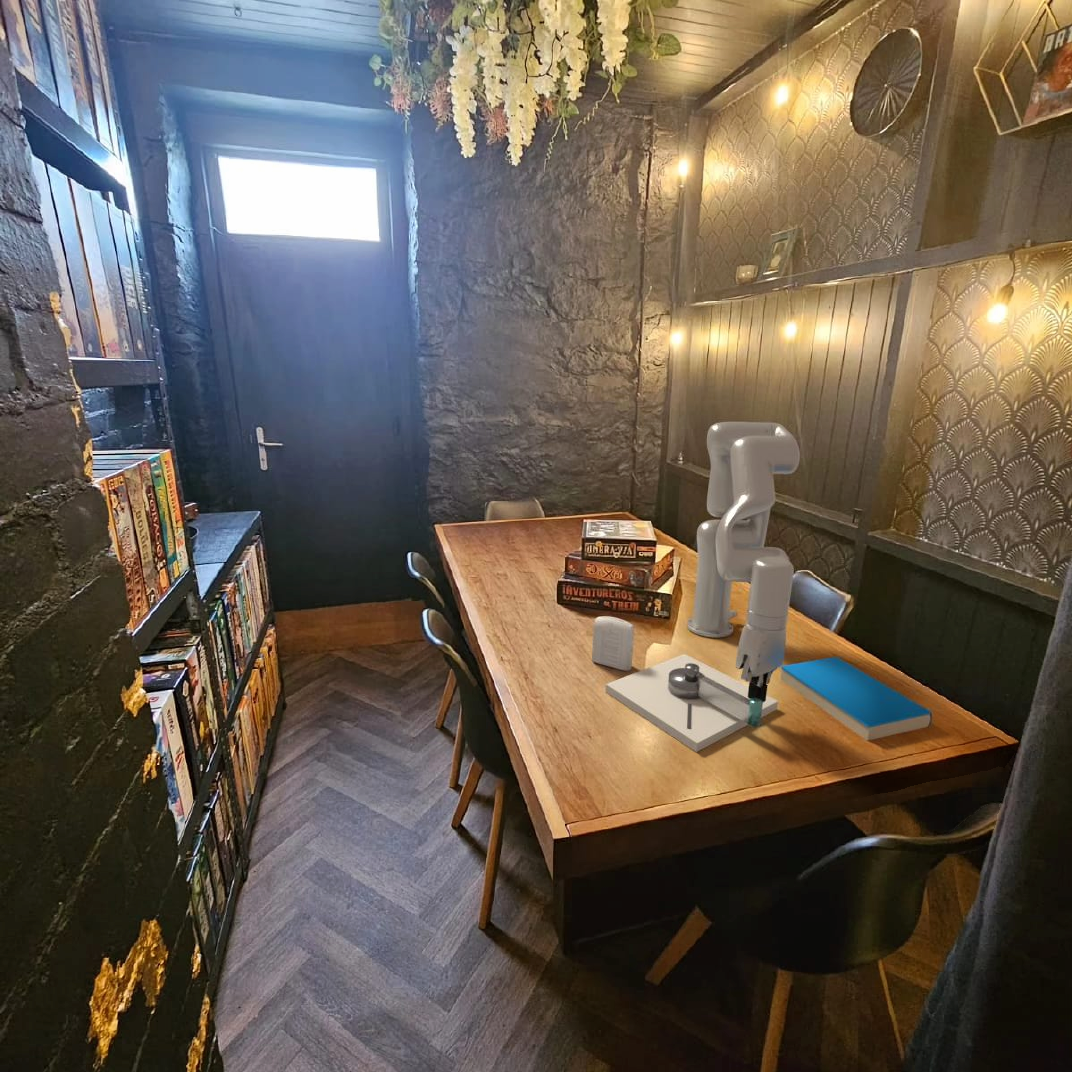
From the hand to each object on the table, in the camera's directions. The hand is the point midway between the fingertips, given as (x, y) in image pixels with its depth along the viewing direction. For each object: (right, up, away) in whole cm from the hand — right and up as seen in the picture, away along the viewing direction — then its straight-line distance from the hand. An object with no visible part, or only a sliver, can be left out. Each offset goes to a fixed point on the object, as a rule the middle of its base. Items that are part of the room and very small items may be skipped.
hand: (756, 699), depth 120 cm
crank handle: (-9, -1, +2) cm, 9 cm away
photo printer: (-27, +2, +23) cm, 36 cm away
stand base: (-12, -2, +7) cm, 14 cm away
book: (+23, -3, +8) cm, 25 cm away
